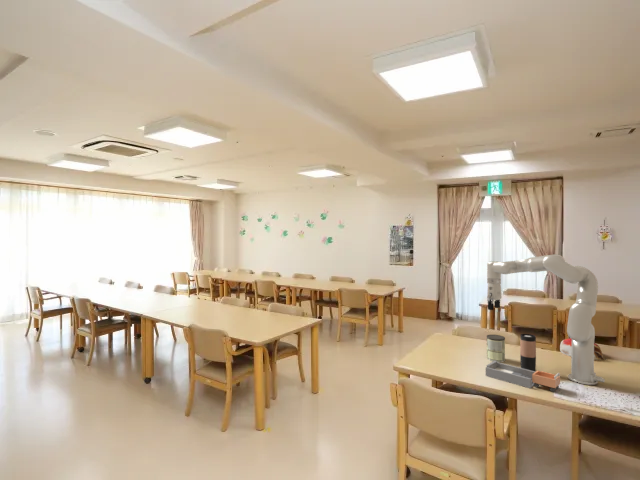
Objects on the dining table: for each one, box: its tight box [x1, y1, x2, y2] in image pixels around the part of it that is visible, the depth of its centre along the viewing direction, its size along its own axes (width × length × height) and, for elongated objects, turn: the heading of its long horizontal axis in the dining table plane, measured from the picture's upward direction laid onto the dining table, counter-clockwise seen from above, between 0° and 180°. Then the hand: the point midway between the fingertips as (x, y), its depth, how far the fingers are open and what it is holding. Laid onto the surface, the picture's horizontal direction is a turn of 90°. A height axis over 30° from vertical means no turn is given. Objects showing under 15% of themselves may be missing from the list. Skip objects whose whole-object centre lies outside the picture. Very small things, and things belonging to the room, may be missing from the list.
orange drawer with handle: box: [532, 369, 561, 393], centre depth 177 cm, size 10×8×8 cm
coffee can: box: [486, 334, 506, 363], centre depth 218 cm, size 10×10×14 cm
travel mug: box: [519, 333, 537, 372], centre depth 200 cm, size 8×8×20 cm
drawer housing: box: [485, 361, 536, 389], centre depth 189 cm, size 22×13×6 cm, turn 42°
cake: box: [559, 337, 607, 361], centre depth 226 cm, size 23×24×10 cm
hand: (494, 308), depth 219 cm, fingers open, 9 cm apart
